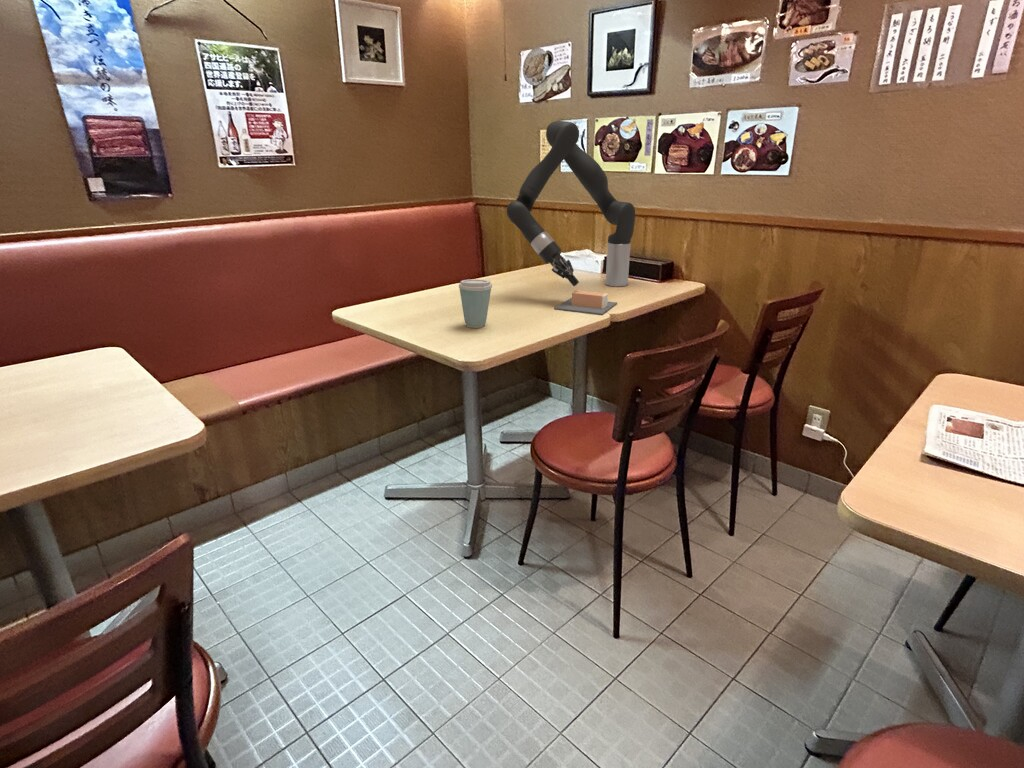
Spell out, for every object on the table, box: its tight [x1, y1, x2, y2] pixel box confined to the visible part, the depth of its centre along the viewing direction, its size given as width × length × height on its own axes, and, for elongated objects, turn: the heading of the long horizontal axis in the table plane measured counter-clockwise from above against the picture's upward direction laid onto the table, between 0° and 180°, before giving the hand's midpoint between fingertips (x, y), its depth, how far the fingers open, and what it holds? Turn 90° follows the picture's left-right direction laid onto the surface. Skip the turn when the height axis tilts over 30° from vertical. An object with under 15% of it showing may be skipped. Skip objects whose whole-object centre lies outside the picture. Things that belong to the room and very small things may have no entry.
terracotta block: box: [571, 289, 609, 309], centre depth 211 cm, size 4×4×12 cm
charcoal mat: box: [553, 296, 618, 316], centre depth 213 cm, size 17×18×1 cm
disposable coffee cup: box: [458, 278, 493, 329], centre depth 189 cm, size 11×11×15 cm
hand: (576, 284), depth 212 cm, fingers closed
